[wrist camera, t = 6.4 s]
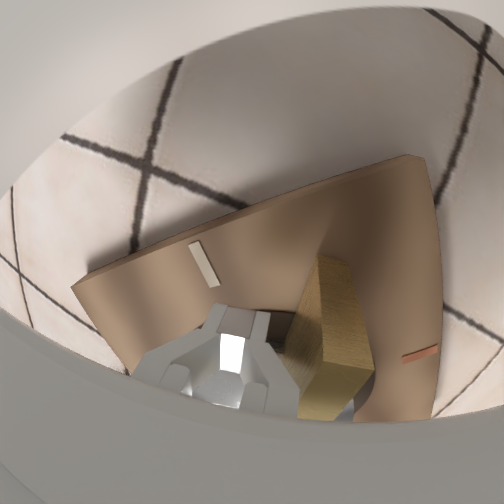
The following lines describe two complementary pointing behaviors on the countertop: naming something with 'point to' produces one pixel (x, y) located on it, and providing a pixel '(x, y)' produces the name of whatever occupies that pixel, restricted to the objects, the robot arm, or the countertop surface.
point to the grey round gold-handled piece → (315, 349)
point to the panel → (298, 278)
